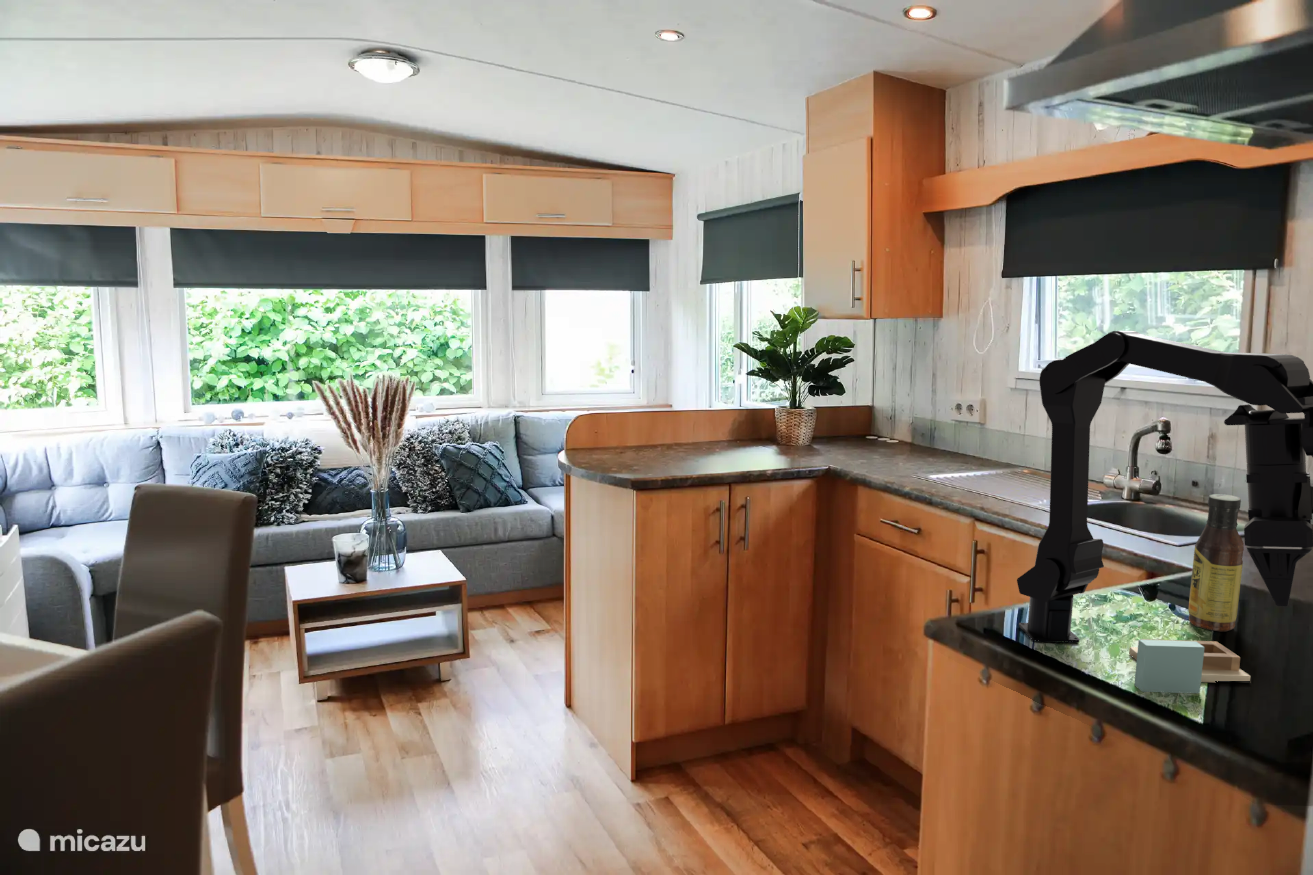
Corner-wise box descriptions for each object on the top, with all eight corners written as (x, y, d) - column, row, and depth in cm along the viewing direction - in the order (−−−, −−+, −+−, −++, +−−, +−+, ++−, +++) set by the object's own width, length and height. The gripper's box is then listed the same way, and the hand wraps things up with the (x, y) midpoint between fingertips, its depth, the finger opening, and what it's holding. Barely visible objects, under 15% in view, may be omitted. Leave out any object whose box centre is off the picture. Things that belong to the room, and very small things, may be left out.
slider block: (1134, 685, 118) (1138, 639, 117) (1191, 686, 117) (1196, 641, 117) (1141, 691, 116) (1146, 645, 115) (1199, 693, 115) (1204, 647, 115)
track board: (1128, 653, 128) (1130, 634, 127) (1211, 656, 127) (1213, 636, 127) (1161, 680, 119) (1163, 659, 119) (1249, 683, 119) (1252, 662, 118)
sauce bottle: (1191, 616, 144) (1204, 489, 141) (1238, 625, 140) (1253, 495, 137) (1182, 627, 139) (1196, 496, 136) (1231, 637, 135) (1246, 502, 132)
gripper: (1369, 468, 96) (1376, 620, 96) (1358, 455, 111) (1364, 586, 111) (1240, 470, 102) (1248, 613, 102) (1247, 458, 117) (1253, 582, 118)
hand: (1282, 597), depth 108 cm, fingers open, 9 cm apart
